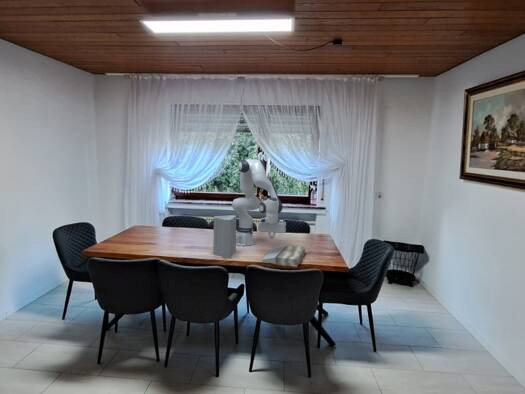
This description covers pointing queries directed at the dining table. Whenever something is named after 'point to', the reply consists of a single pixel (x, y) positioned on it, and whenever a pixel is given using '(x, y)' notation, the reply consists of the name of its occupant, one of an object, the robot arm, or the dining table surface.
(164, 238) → the dining table surface
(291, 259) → the grey beige flat block
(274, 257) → the decorative molding
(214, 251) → the tall grey upright block
